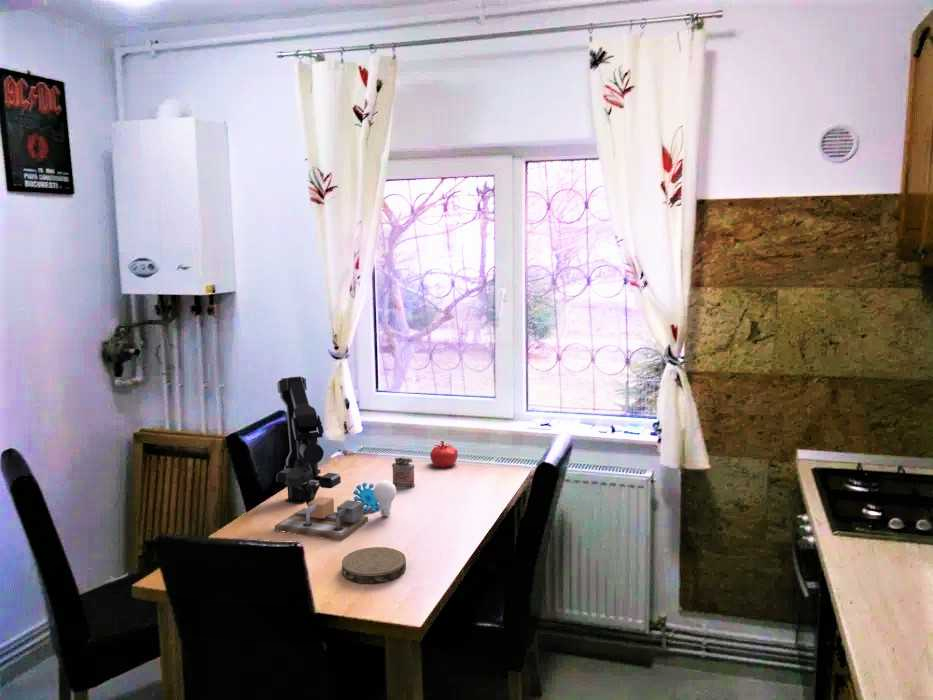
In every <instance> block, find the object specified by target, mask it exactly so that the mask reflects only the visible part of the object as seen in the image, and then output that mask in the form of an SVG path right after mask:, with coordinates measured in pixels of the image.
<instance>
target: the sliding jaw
mask: <svg viewBox="0 0 933 700" xmlns="http://www.w3.org/2000/svg"><path fill="white" fill-rule="evenodd" d="M334 501H335V500H334V498H333V497H324V496H317V497H316V498H314V500H312V501H311V502H309V503H308V506H307V507H306V508H307V509H306V520H307V525H309V524H310V517H316V518H325V517H326V516H328V515H329V514H331V513H332V512H335V503H334Z"/></svg>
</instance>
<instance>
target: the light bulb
mask: <svg viewBox="0 0 933 700" xmlns="http://www.w3.org/2000/svg"><path fill="white" fill-rule="evenodd" d="M373 488H374V489H373V490H374V496H375V498H376V499H377V501H378V504H379V505H380V515H381V516H382V517H388V516H389V515H391V513H392V511H391V509H392V503H393V501H394V499H395V498H396V495H397V487H395V486H394V484H393V481H392V482H391V481H390V480H385V479H384V480H381V481H379V482H378V483H376V485H375V486H374V487H373Z"/></svg>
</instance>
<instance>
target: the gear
mask: <svg viewBox="0 0 933 700" xmlns="http://www.w3.org/2000/svg"><path fill="white" fill-rule="evenodd" d="M367 485H368V483H366V482H363V483H362V484H358V485H356V486H355V488H356V489H355V490H353V495H354V496H353V501H358V502H363V506H364V507H363V512H366V513H367V512H368V511H369V508H370V507H371V509H370V512H371V513H375V512H376V510H377V511H379V510H380V511H381V509H380V505H379V502H378V501H377V499H376V498H375V496H374V489H373V488H375V486H374V484H373V483H370V484H369V485H368V488H366V487H367ZM375 506H376V508H375Z"/></svg>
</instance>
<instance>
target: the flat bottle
mask: <svg viewBox="0 0 933 700" xmlns="http://www.w3.org/2000/svg"><path fill="white" fill-rule="evenodd" d="M394 461H395V462H393V463H391V467H392V483H393V484H394V486H396V487H395V488H401V487H402V488H403V489H414V488H415V487H416V484H415V464H413V458H412V457H411V458H410V457H405V456H401V457H399V456H395V458H394Z"/></svg>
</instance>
